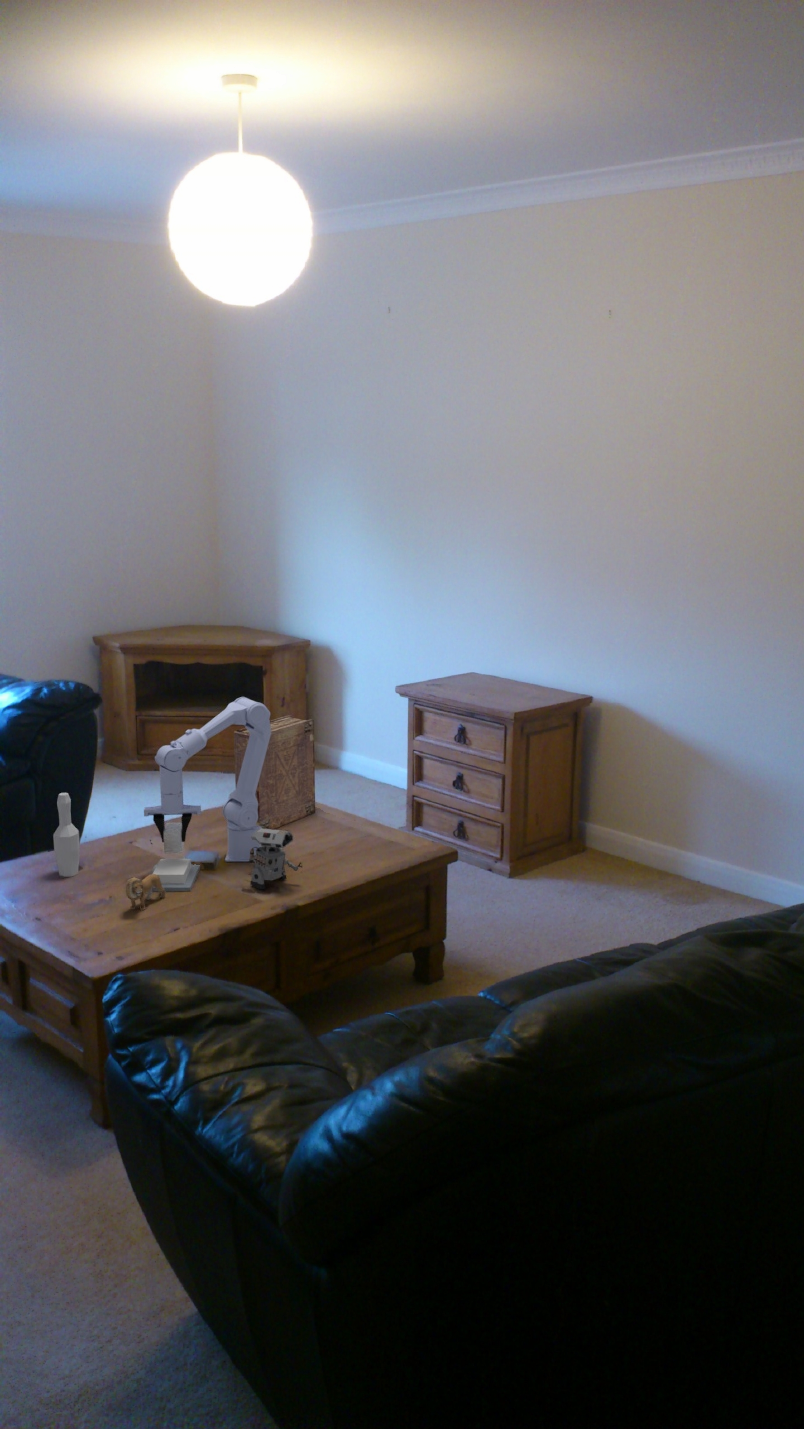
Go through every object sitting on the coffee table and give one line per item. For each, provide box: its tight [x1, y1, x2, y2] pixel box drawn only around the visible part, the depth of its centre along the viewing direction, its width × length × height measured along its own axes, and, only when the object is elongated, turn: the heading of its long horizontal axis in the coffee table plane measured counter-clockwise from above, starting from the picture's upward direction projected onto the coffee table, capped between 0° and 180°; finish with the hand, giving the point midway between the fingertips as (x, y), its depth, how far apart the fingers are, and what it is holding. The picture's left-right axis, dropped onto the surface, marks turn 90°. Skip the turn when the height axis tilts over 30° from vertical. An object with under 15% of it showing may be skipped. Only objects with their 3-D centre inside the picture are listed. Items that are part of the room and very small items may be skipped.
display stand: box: [149, 858, 201, 892], centre depth 285 cm, size 12×16×4 cm
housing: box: [163, 821, 185, 854], centre depth 288 cm, size 4×7×6 cm, turn 7°
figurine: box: [248, 828, 303, 890], centre depth 281 cm, size 9×12×15 cm
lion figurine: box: [124, 874, 166, 911], centre depth 269 cm, size 15×5×9 cm, turn 164°
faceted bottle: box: [52, 792, 81, 878], centre depth 287 cm, size 6×6×22 cm
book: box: [233, 714, 316, 830], centre depth 327 cm, size 25×9×30 cm, turn 145°
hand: (173, 840), depth 288 cm, fingers closed on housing, 4 cm apart
